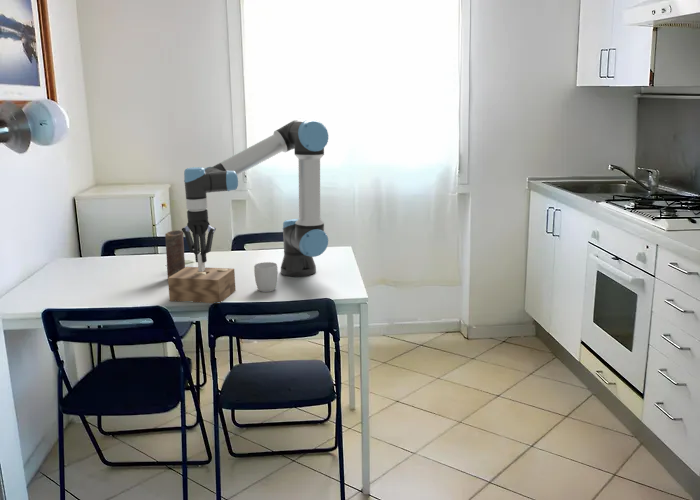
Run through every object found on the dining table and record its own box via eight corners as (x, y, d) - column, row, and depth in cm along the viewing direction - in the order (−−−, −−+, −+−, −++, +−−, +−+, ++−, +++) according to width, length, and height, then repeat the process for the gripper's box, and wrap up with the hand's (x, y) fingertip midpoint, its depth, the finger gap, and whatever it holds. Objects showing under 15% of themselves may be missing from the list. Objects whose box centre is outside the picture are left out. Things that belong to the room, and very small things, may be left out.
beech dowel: (209, 294, 260) (207, 272, 258) (205, 297, 256) (203, 274, 254) (199, 294, 261) (198, 271, 259) (195, 297, 257) (193, 274, 255)
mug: (279, 292, 262) (278, 267, 259) (256, 293, 260) (254, 268, 258) (276, 283, 274) (275, 259, 271) (253, 284, 272) (252, 260, 270)
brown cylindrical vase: (189, 277, 285) (186, 230, 280) (178, 281, 278) (175, 234, 273) (175, 275, 288) (171, 229, 283) (164, 279, 281) (160, 233, 277)
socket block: (235, 290, 264) (234, 268, 262) (219, 303, 249) (218, 279, 247) (188, 288, 268) (186, 266, 266) (169, 300, 253) (167, 277, 251)
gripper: (217, 207, 253) (221, 268, 259) (185, 207, 256) (190, 267, 261) (209, 211, 246) (214, 273, 252) (176, 211, 249) (181, 272, 254)
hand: (201, 270), depth 256 cm, fingers closed
